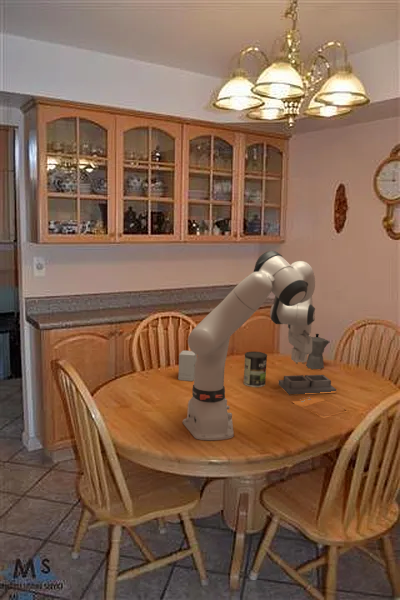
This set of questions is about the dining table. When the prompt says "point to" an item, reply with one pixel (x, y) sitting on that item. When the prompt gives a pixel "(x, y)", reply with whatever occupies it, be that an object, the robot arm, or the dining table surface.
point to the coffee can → (255, 369)
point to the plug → (297, 356)
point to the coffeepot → (317, 353)
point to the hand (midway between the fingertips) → (299, 358)
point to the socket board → (306, 384)
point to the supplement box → (187, 365)
